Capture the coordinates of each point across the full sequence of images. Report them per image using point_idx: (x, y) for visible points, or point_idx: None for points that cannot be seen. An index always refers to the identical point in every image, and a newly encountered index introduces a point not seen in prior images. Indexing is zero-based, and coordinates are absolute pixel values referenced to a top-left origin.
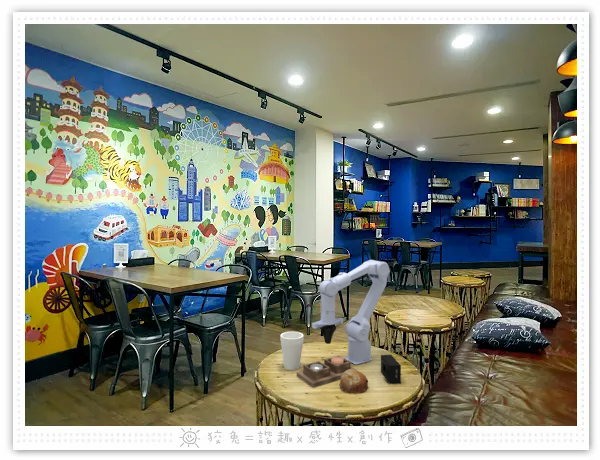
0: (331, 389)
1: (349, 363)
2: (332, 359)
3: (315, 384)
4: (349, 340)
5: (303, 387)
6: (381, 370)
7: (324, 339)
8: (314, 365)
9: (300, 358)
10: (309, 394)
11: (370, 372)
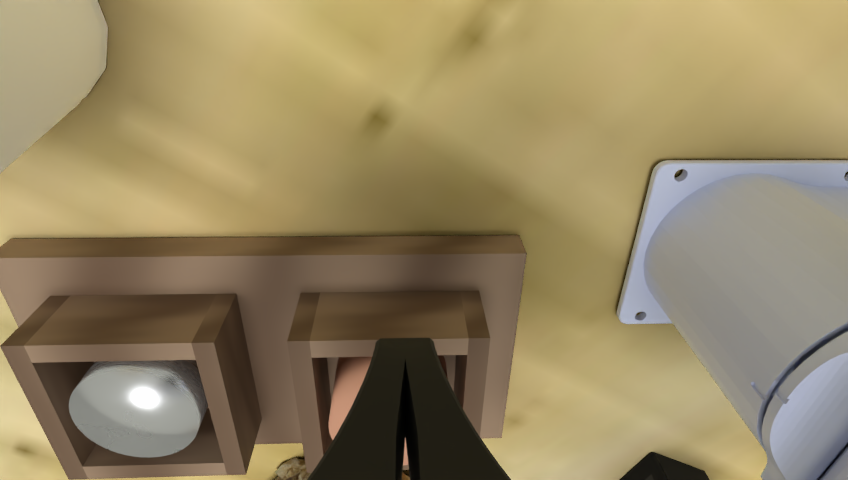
0: (206, 476)
1: None
2: (338, 417)
3: None
4: (816, 340)
5: (24, 396)
6: (645, 478)
7: (367, 372)
8: (120, 397)
9: (49, 121)
10: (41, 466)
11: (592, 431)
